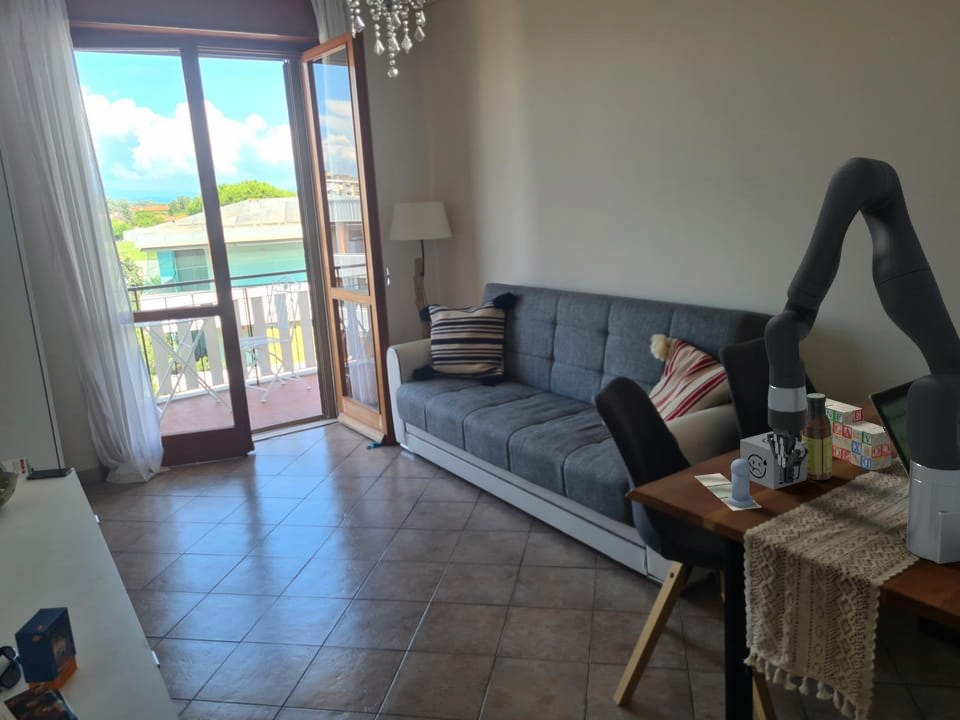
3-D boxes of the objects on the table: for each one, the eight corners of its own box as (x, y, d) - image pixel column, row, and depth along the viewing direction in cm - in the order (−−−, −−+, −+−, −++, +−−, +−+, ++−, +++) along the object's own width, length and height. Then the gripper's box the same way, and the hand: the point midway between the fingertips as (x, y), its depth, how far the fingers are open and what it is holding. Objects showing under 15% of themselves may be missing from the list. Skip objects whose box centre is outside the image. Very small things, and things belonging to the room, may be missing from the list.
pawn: (757, 506, 151) (757, 461, 149) (734, 508, 151) (734, 464, 149) (746, 497, 156) (746, 454, 154) (724, 499, 156) (724, 456, 154)
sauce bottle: (826, 471, 169) (828, 390, 165) (836, 481, 163) (838, 397, 159) (797, 472, 170) (798, 392, 166) (806, 482, 164) (808, 399, 160)
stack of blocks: (891, 467, 169) (894, 417, 167) (870, 471, 167) (872, 421, 165) (825, 441, 189) (826, 397, 187) (805, 445, 188) (806, 400, 185)
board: (764, 511, 151) (764, 507, 150) (732, 515, 150) (732, 511, 150) (720, 476, 171) (720, 472, 171) (692, 479, 170) (692, 475, 170)
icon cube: (806, 483, 163) (806, 442, 161) (773, 493, 159) (773, 451, 157) (772, 470, 172) (772, 431, 170) (740, 480, 168) (740, 439, 166)
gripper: (821, 411, 145) (820, 491, 149) (787, 396, 158) (786, 469, 161) (787, 415, 144) (786, 495, 148) (755, 399, 157) (755, 473, 161)
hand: (786, 481), depth 155 cm, fingers closed
